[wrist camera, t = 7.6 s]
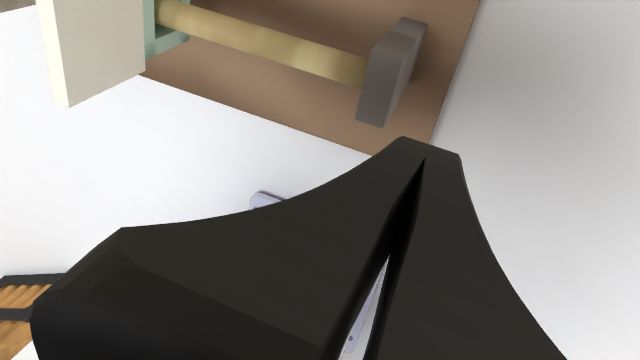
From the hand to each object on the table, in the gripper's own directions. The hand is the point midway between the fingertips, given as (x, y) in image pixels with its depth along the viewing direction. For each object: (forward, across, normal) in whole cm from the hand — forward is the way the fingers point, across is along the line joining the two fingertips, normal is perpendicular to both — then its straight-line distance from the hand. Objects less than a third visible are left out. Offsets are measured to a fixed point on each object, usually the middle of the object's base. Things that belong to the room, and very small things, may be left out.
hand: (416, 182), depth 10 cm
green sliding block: (+7, +12, 0) cm, 14 cm away
